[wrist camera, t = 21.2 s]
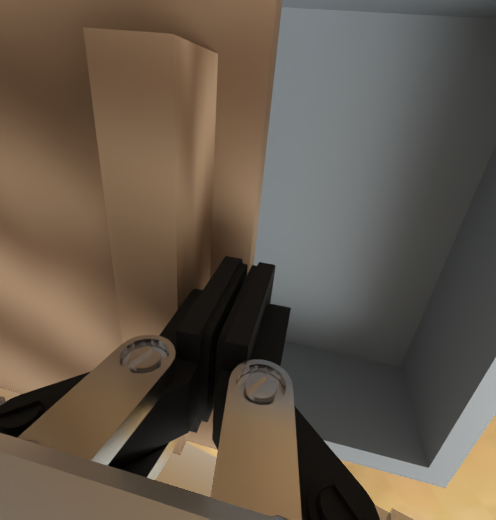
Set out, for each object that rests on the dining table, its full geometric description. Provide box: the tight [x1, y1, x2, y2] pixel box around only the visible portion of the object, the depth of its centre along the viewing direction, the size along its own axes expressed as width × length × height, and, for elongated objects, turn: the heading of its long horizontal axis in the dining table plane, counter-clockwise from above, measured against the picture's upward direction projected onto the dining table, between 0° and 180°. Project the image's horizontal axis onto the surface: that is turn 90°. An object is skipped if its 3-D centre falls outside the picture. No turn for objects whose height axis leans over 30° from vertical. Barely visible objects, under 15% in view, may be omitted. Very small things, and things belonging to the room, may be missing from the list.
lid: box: [0, 0, 282, 455], centre depth 12 cm, size 22×16×4 cm
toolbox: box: [254, 0, 496, 488], centre depth 17 cm, size 22×23×8 cm
